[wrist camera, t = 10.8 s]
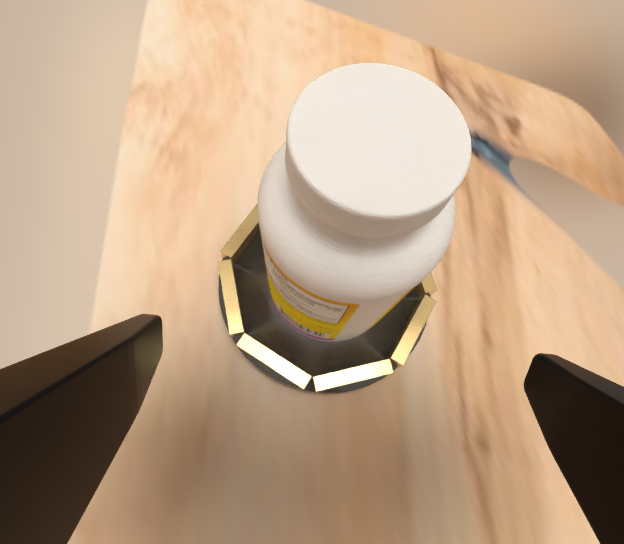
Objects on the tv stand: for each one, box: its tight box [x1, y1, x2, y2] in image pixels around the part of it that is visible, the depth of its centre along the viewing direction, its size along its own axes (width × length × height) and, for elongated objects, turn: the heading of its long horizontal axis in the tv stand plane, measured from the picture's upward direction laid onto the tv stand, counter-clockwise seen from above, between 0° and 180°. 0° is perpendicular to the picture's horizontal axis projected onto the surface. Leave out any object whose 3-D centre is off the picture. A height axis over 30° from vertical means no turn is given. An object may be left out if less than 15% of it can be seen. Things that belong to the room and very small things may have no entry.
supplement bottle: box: [258, 63, 471, 342], centre depth 16 cm, size 7×7×13 cm
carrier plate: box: [218, 203, 437, 393], centre depth 22 cm, size 12×12×2 cm
